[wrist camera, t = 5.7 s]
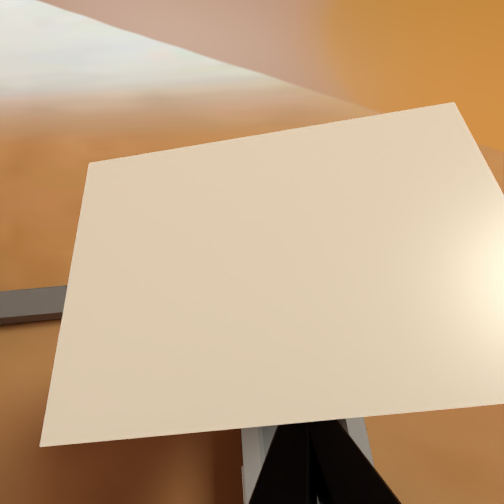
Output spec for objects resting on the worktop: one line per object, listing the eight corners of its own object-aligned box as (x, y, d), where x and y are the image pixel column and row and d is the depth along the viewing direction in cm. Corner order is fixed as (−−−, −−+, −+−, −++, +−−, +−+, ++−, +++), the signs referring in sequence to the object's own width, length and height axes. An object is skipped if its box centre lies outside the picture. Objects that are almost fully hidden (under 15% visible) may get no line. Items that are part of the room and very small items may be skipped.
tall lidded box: (355, 397, 14) (608, 393, 3) (242, 408, 15) (40, 446, 3) (339, 319, 16) (454, 101, 4) (237, 331, 16) (89, 163, 5)
